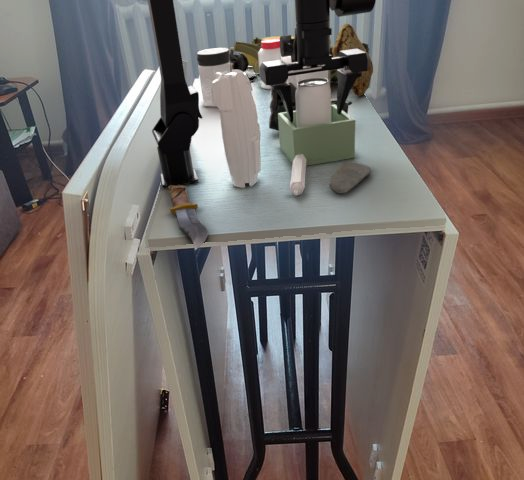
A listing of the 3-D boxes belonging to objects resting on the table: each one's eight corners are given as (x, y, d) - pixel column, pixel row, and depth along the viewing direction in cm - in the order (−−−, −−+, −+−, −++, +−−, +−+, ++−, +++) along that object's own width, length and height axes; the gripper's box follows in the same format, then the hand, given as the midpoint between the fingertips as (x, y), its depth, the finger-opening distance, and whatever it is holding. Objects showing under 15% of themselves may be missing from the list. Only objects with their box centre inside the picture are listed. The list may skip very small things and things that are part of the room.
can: (329, 154, 100) (328, 85, 92) (295, 155, 101) (291, 87, 94) (333, 143, 105) (332, 76, 97) (300, 144, 106) (297, 78, 99)
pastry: (372, 102, 139) (382, 98, 137) (335, 92, 126) (346, 87, 124) (362, 33, 137) (372, 28, 135) (324, 15, 124) (335, 9, 122)
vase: (328, 99, 136) (281, 100, 139) (331, 81, 141) (286, 82, 144) (327, 64, 129) (278, 66, 132) (330, 46, 134) (283, 49, 137)
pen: (215, 86, 150) (216, 91, 151) (218, 86, 149) (219, 91, 149) (255, 74, 156) (256, 79, 156) (258, 74, 154) (259, 78, 155)
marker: (295, 205, 87) (298, 168, 99) (306, 199, 86) (308, 162, 98) (286, 193, 86) (290, 156, 98) (297, 186, 85) (300, 150, 97)
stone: (348, 157, 95) (375, 164, 93) (347, 165, 96) (373, 173, 95) (323, 182, 87) (352, 190, 86) (322, 190, 88) (350, 199, 87)
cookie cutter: (229, 45, 157) (230, 38, 156) (264, 43, 162) (265, 36, 161) (258, 77, 149) (259, 70, 148) (294, 74, 154) (295, 67, 153)
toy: (211, 87, 156) (233, 71, 165) (233, 89, 154) (254, 73, 163) (208, 59, 151) (231, 44, 160) (231, 61, 148) (253, 46, 158)
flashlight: (228, 193, 92) (269, 185, 93) (212, 80, 81) (259, 72, 82) (220, 180, 97) (259, 172, 98) (204, 72, 86) (248, 64, 87)
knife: (211, 243, 76) (176, 249, 75) (212, 252, 77) (178, 258, 76) (193, 178, 94) (165, 183, 94) (195, 186, 95) (167, 191, 95)
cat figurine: (263, 132, 125) (338, 137, 127) (269, 130, 112) (352, 136, 114) (265, 85, 122) (342, 91, 124) (272, 78, 109) (358, 85, 111)
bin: (354, 157, 100) (355, 119, 96) (294, 167, 99) (292, 129, 94) (335, 139, 109) (335, 104, 105) (280, 148, 108) (277, 113, 103)
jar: (196, 106, 139) (188, 54, 131) (213, 97, 144) (207, 47, 137) (225, 108, 135) (218, 54, 127) (242, 99, 140) (236, 47, 133)
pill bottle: (256, 85, 151) (252, 41, 144) (280, 80, 153) (277, 36, 146) (267, 90, 145) (264, 44, 138) (293, 85, 147) (290, 39, 140)
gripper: (349, 8, 97) (348, 100, 107) (249, 22, 95) (257, 114, 105) (372, 15, 88) (368, 114, 98) (262, 30, 87) (270, 130, 96)
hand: (315, 117), depth 100 cm, fingers open, 9 cm apart
